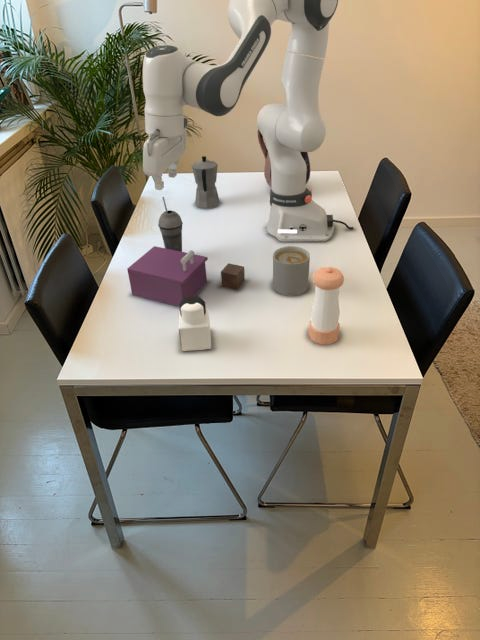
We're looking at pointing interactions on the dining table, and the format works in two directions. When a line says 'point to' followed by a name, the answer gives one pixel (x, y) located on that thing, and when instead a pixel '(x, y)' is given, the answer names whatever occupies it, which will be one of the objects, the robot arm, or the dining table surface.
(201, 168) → the coffeepot
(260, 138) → the ceramic pitcher
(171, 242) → the beverage cup
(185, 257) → the box file lid
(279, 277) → the coffee mug
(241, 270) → the block
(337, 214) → the dining table surface
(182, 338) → the bust figurine
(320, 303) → the salt shaker
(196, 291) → the box
